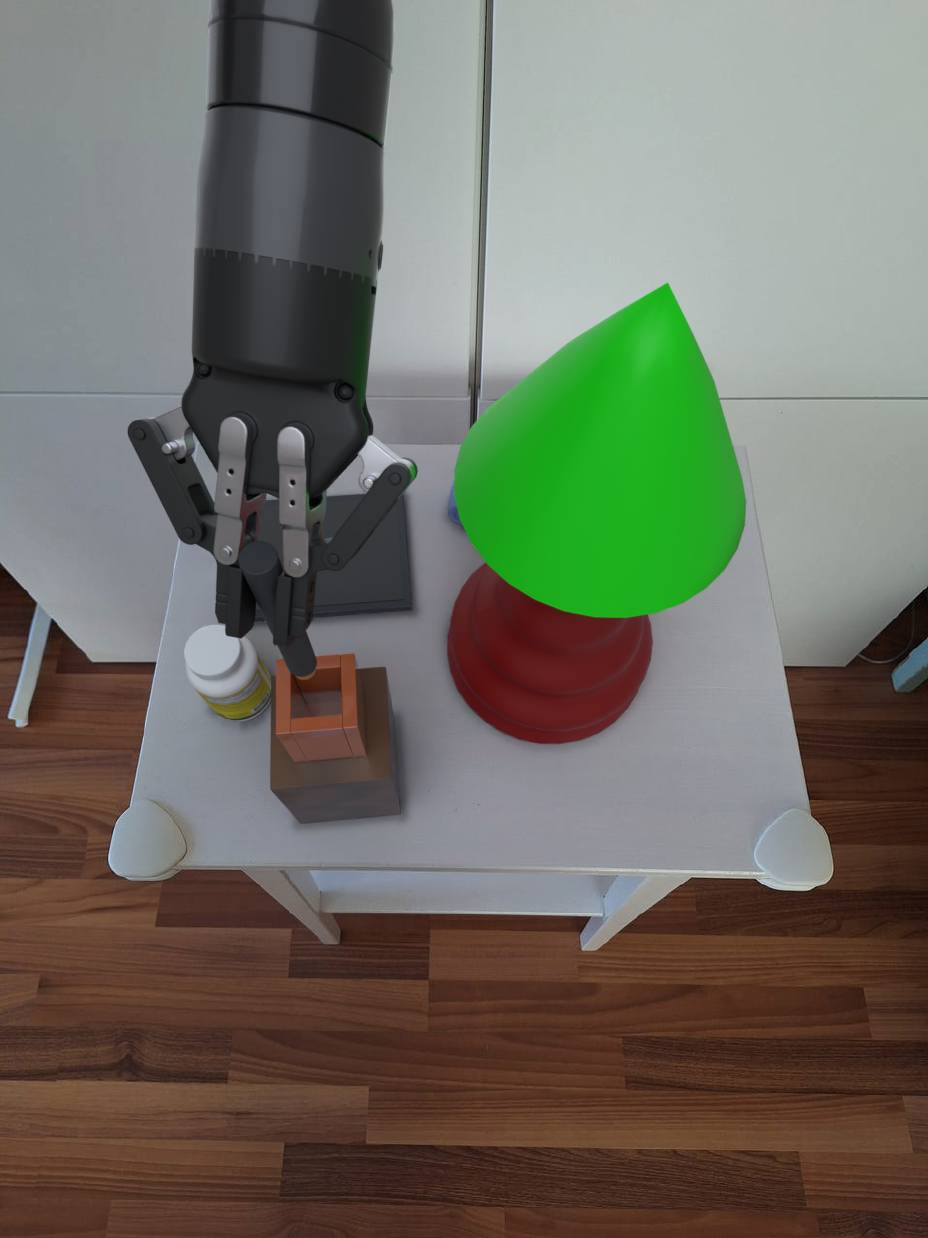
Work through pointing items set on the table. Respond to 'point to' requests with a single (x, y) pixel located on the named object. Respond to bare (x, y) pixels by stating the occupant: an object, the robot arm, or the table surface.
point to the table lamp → (590, 522)
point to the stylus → (262, 579)
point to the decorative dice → (453, 507)
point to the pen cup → (322, 710)
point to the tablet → (354, 562)
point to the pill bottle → (227, 673)
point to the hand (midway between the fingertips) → (263, 635)
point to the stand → (343, 766)
